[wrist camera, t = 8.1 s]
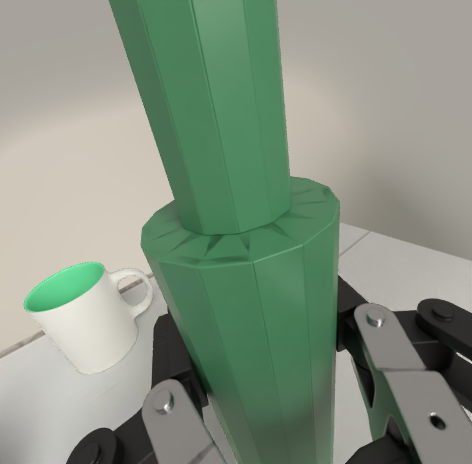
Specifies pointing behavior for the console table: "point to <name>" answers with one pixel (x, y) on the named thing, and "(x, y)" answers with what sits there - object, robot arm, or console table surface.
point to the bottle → (239, 224)
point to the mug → (88, 314)
